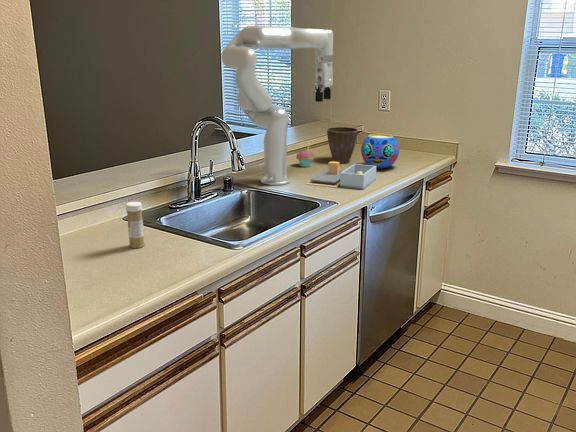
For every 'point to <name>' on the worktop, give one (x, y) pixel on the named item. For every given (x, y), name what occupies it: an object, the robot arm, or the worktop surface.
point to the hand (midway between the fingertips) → (323, 100)
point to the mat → (324, 184)
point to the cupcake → (305, 157)
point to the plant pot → (342, 143)
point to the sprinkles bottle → (135, 224)
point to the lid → (329, 174)
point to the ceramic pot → (380, 150)
